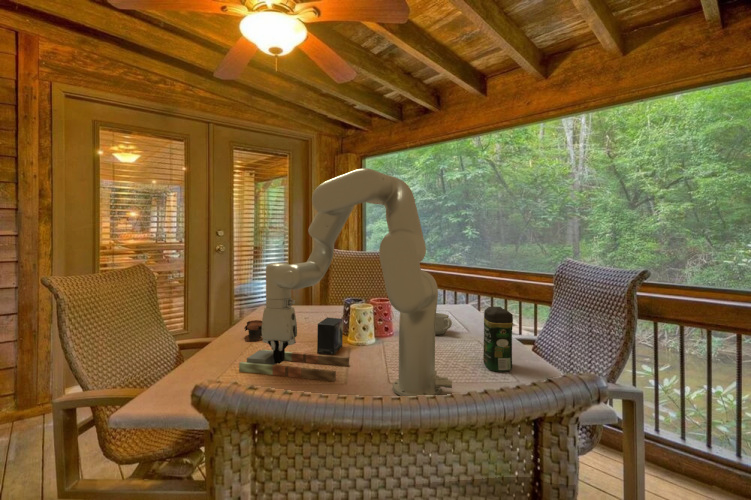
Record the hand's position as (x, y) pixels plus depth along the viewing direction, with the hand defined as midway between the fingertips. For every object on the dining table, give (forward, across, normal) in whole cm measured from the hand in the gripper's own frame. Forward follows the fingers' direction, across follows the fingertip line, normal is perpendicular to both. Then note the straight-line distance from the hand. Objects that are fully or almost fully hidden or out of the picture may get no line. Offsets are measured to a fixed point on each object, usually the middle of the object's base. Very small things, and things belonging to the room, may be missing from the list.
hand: (279, 361), depth 116 cm
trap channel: (+1, -6, 0) cm, 6 cm away
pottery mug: (+2, +23, -26) cm, 35 cm away
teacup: (+2, -44, -50) cm, 67 cm away
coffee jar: (+2, -66, -16) cm, 68 cm away
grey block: (+2, +5, +1) cm, 5 cm away
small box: (+2, -10, -20) cm, 22 cm away
